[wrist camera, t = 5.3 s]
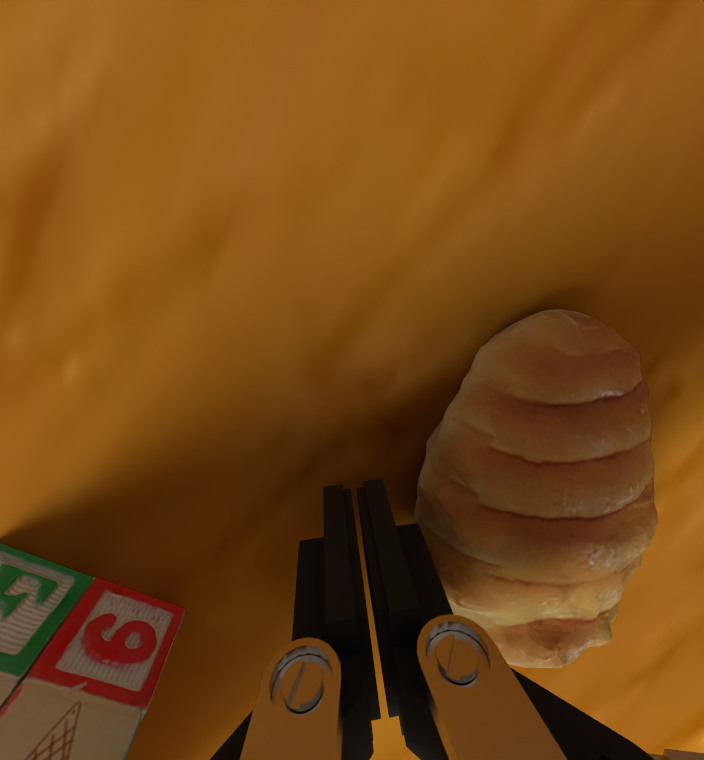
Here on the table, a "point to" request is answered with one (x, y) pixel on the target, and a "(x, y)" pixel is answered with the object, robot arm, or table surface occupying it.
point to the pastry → (542, 486)
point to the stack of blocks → (75, 660)
